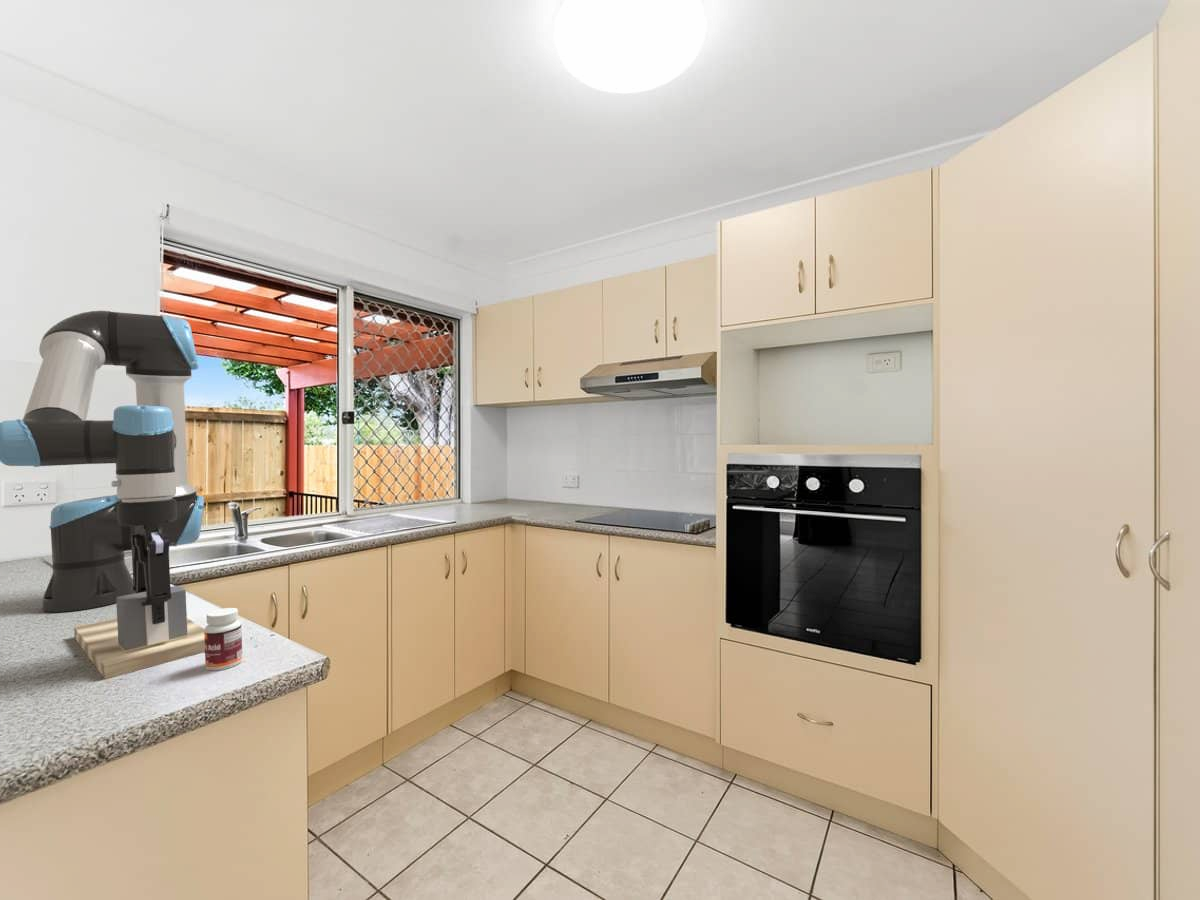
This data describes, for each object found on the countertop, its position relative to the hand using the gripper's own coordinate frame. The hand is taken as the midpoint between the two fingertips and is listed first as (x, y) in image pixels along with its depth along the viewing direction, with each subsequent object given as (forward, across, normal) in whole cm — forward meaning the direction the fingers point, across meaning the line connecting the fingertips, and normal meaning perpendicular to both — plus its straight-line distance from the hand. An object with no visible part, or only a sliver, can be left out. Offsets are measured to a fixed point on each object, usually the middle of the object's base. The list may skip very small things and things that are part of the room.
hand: (153, 638), depth 89 cm
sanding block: (+1, 0, 0) cm, 1 cm away
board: (+3, -8, 0) cm, 8 cm away
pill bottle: (+3, +15, +6) cm, 16 cm away
